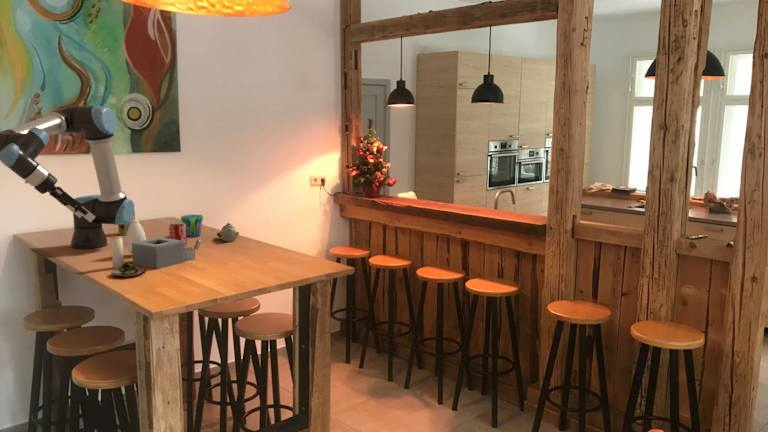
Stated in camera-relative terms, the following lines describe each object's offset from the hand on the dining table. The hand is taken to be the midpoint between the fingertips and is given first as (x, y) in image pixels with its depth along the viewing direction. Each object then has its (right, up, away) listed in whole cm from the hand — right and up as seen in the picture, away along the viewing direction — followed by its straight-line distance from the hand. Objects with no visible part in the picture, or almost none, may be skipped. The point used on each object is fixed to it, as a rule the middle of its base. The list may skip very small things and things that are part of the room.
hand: (87, 217), depth 231 cm
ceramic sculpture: (+37, -11, +66) cm, 76 cm away
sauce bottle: (+7, -17, +30) cm, 35 cm away
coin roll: (+8, -20, +9) cm, 23 cm away
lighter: (+33, -18, +25) cm, 45 cm away
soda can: (+22, -15, +39) cm, 47 cm away
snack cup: (+17, -10, +74) cm, 76 cm away
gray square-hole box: (+21, -19, +17) cm, 33 cm away
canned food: (-17, -9, +76) cm, 78 cm away
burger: (+16, -22, -2) cm, 28 cm away
